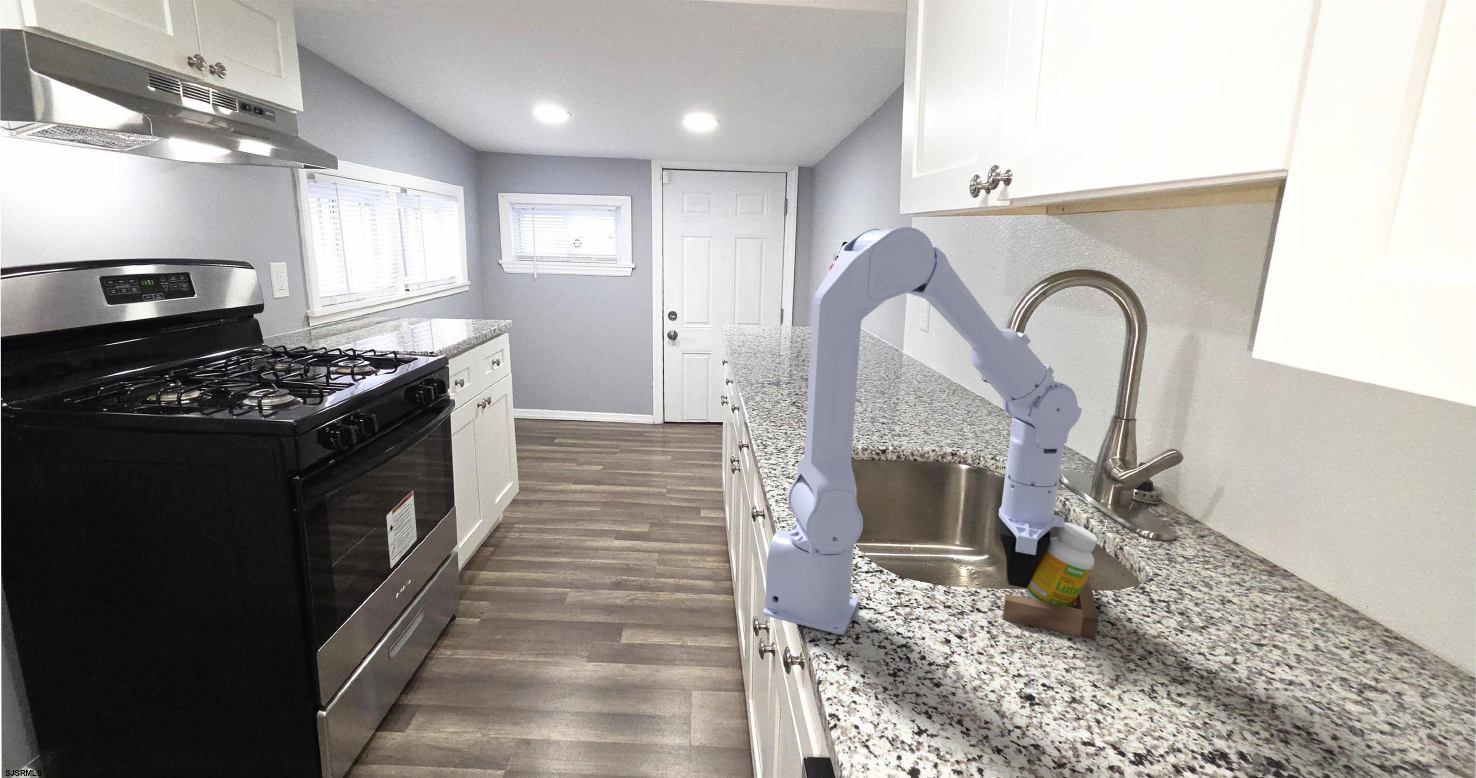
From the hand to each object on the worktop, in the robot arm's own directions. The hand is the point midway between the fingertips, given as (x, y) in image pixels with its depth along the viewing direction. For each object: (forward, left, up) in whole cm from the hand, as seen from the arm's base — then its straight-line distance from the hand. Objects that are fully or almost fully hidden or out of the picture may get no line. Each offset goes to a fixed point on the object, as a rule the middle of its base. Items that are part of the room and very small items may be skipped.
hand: (1017, 583), depth 79 cm
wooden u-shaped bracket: (+3, 0, -2) cm, 3 cm away
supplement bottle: (+3, 0, -2) cm, 4 cm away
